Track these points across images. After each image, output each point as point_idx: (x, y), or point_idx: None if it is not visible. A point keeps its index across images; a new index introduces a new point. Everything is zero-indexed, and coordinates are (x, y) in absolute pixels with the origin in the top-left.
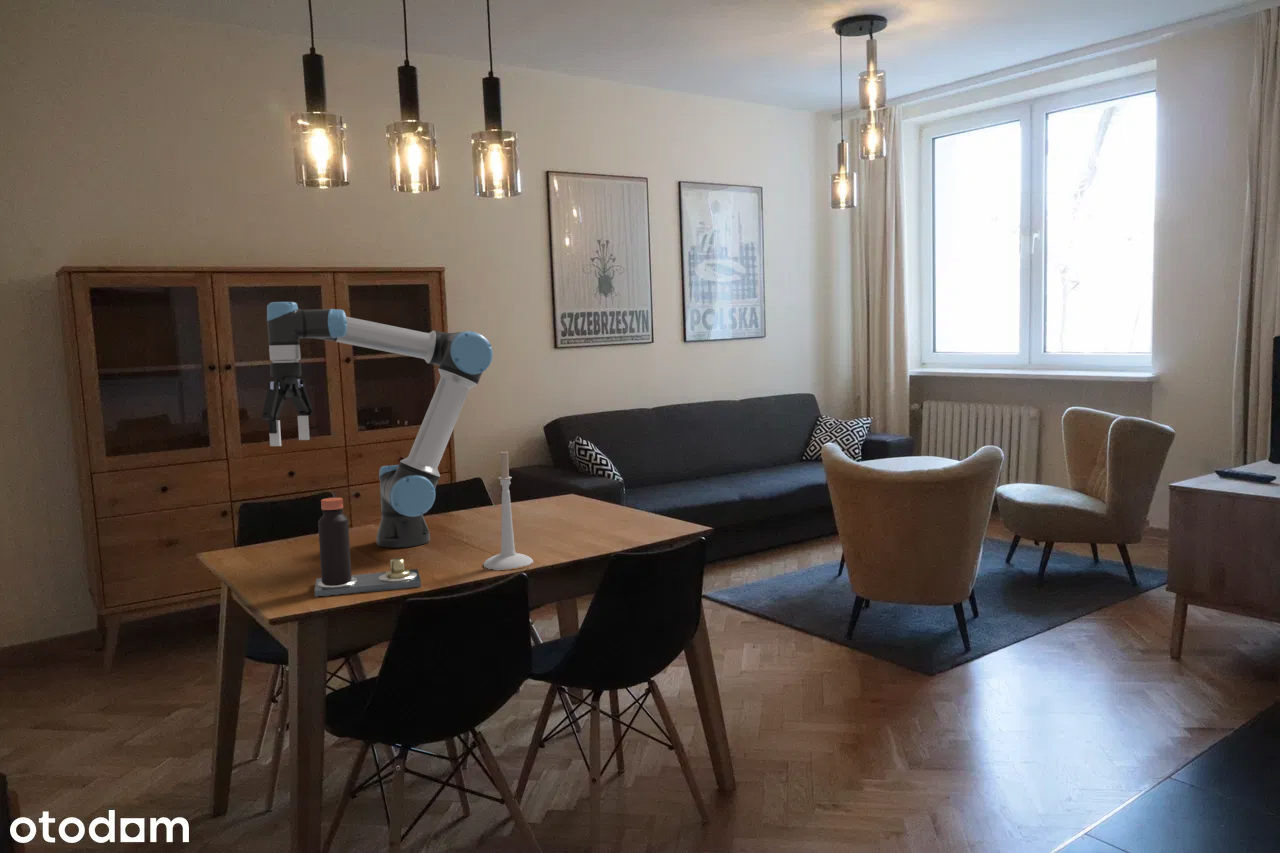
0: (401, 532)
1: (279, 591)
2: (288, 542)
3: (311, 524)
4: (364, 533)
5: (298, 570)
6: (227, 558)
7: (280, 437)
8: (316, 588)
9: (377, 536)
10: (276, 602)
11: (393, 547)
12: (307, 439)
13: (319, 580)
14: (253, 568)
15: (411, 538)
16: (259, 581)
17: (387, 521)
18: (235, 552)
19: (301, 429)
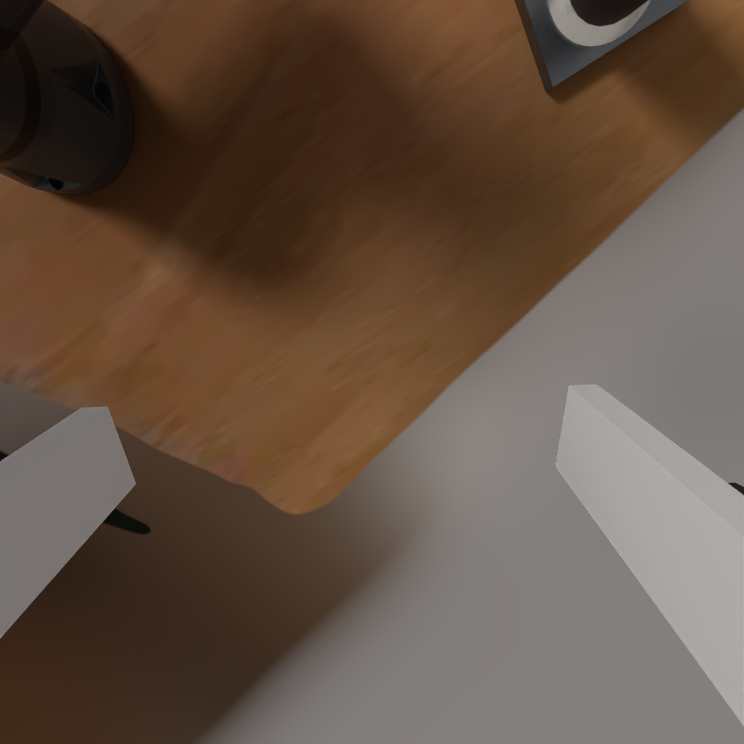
0: (75, 48)
1: (604, 161)
2: (174, 428)
3: None
4: (16, 302)
5: (410, 241)
6: (333, 461)
7: (623, 426)
8: (663, 10)
9: (101, 169)
10: (707, 100)
11: (128, 94)
12: (106, 415)
13: (574, 62)
14: (403, 359)
15: (70, 20)
16: (512, 273)
17: (57, 106)
18: (284, 476)
19: (51, 533)
